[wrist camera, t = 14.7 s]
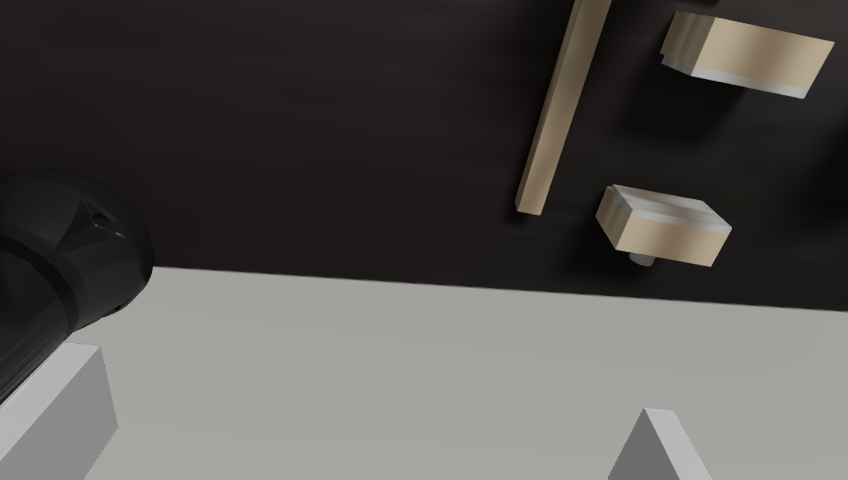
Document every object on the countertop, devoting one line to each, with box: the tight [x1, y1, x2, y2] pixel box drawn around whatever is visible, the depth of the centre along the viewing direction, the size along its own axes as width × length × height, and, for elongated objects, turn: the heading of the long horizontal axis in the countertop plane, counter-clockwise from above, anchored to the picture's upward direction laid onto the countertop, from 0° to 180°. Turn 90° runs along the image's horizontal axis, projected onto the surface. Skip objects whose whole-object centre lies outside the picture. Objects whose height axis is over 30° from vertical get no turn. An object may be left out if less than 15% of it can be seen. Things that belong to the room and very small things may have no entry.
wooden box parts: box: [515, 0, 835, 267], centre depth 38 cm, size 16×19×6 cm
